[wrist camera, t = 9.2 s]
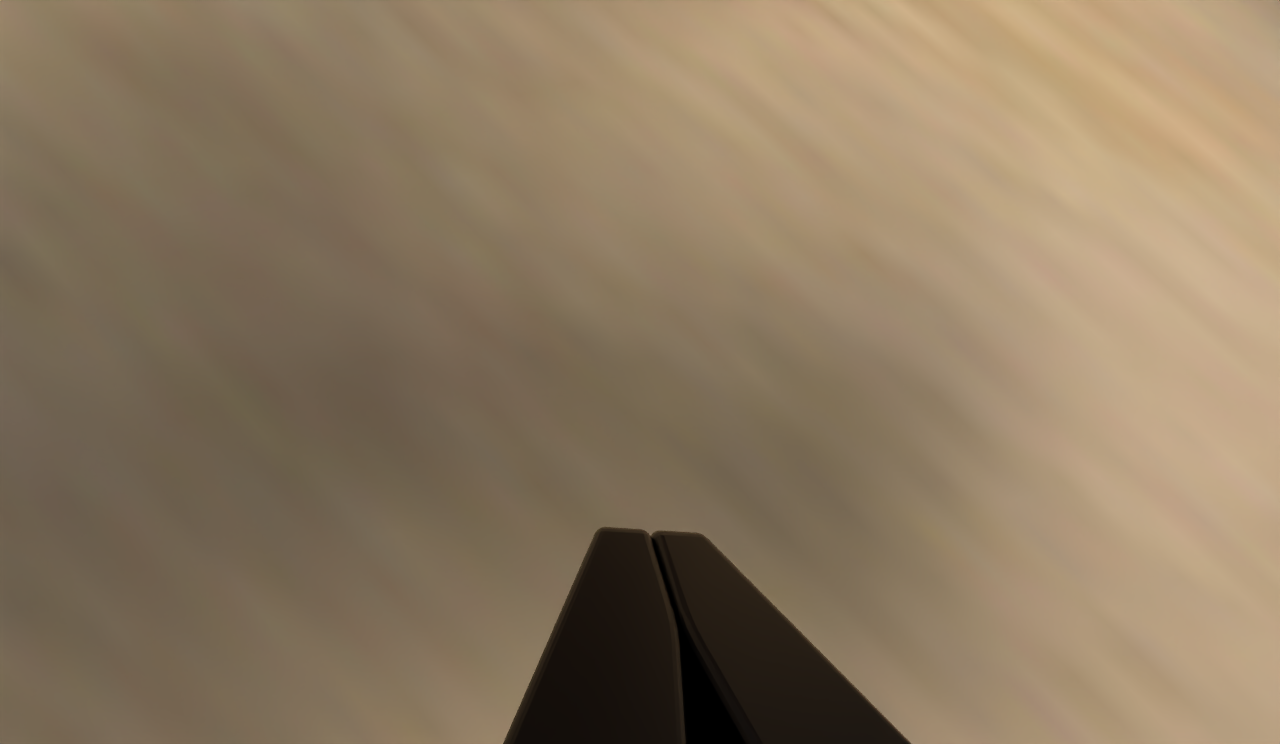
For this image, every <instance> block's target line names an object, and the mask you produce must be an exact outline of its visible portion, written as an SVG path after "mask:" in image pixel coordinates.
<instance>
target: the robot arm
mask: <svg viewBox="0 0 1280 744" xmlns="http://www.w3.org/2000/svg"><path fill="white" fill-rule="evenodd" d="M503 744H911V743H910V742H909V741H908V740H907V739H906V738H905V737H904V736H903V735H902V734H901V733H900V732H899V731H898V730H897V729H896V728H895V727H894V726H893V725H892V724H891V723H890V722H889V721H888V720H887V719H886V718H885V717H884V716H883V715H882V714H881V713H880V712H879V711H878V710H877V709H876V708H875V707H874V706H873V705H872V704H871V703H870V701H869V700H868V699H867V698H866V697H865V696H864V695H863V694H862V693H861V692H860V691H859V690H858V689H857V688H856V687H855V686H854V685H853V684H852V683H851V682H850V681H849V680H848V679H847V678H846V677H845V676H844V675H843V674H842V673H841V672H840V671H839V670H838V669H837V668H836V667H835V666H834V665H833V664H832V663H831V662H830V661H829V660H828V659H827V658H826V657H825V656H824V655H823V654H822V653H821V652H820V651H819V650H818V649H817V648H816V647H815V646H814V645H813V644H812V643H811V642H810V641H809V640H808V639H807V638H806V637H805V636H804V635H803V634H802V633H801V632H800V631H799V630H798V629H797V628H796V627H795V626H794V625H793V624H792V623H791V622H790V621H789V620H788V619H787V618H786V617H785V616H784V615H783V614H782V613H781V612H780V611H779V610H778V609H777V608H776V607H775V606H774V605H773V604H772V603H771V602H770V601H769V600H768V599H767V598H766V597H765V596H764V595H763V594H762V593H761V592H760V591H759V590H758V589H757V588H756V587H755V586H754V585H753V584H752V583H751V582H750V581H749V580H748V579H747V578H746V577H745V576H744V575H743V574H742V573H741V572H740V571H739V570H738V569H737V568H736V567H735V566H734V565H733V564H732V563H731V562H730V561H729V560H728V559H727V558H726V557H725V556H724V555H723V554H722V553H721V552H720V551H719V550H718V549H717V548H716V547H715V546H714V545H713V544H712V543H711V542H710V541H709V539H707V538H706V537H705V536H703V535H702V534H699V533H691V532H675V531H656V532H654V533H653V534H652V535H651V536H650V535H649V533H647V532H646V531H644V530H641V529H627V528H611V527H602V528H600V529H598V530H597V531H596V533H595V535H594V537H593V539H592V541H591V544H590V546H589V548H588V551H587V553H586V555H585V557H584V560H583V562H582V564H581V567H580V569H579V571H578V574H577V576H576V578H575V580H574V583H573V585H572V587H571V590H570V592H569V594H568V596H567V599H566V601H565V603H564V606H563V608H562V610H561V612H560V615H559V617H558V619H557V622H556V624H555V626H554V628H553V631H552V633H551V635H550V638H549V640H548V642H547V645H546V647H545V649H544V651H543V654H542V656H541V658H540V661H539V663H538V665H537V667H536V670H535V672H534V674H533V677H532V679H531V681H530V683H529V686H528V688H527V690H526V693H525V695H524V697H523V699H522V702H521V704H520V706H519V709H518V711H517V713H516V716H515V718H514V720H513V722H512V725H511V727H510V729H509V732H508V734H507V736H506V738H505V741H504V743H503Z"/></svg>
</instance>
